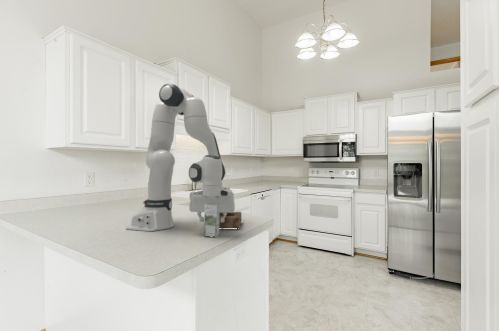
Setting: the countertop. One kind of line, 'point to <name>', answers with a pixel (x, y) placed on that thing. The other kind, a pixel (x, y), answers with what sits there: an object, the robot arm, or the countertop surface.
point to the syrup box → (211, 220)
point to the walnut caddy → (230, 220)
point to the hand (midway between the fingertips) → (212, 221)
